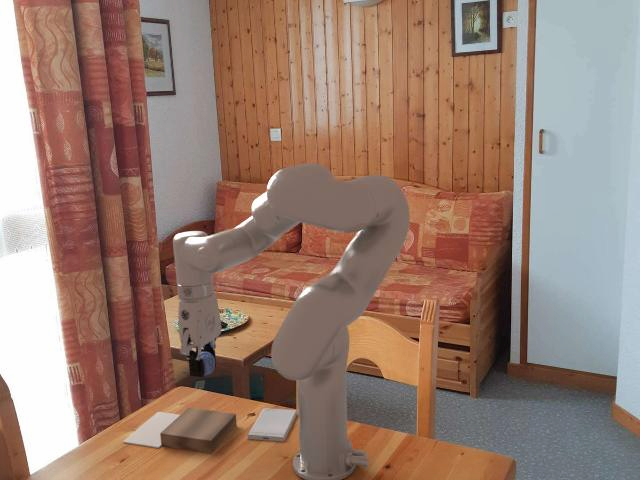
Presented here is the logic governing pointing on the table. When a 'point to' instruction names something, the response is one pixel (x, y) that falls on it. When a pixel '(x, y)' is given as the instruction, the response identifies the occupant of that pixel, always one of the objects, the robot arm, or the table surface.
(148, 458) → the table surface
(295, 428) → the table surface
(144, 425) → the mat
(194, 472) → the table surface
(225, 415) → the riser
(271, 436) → the hard drive
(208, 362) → the decorative dice
